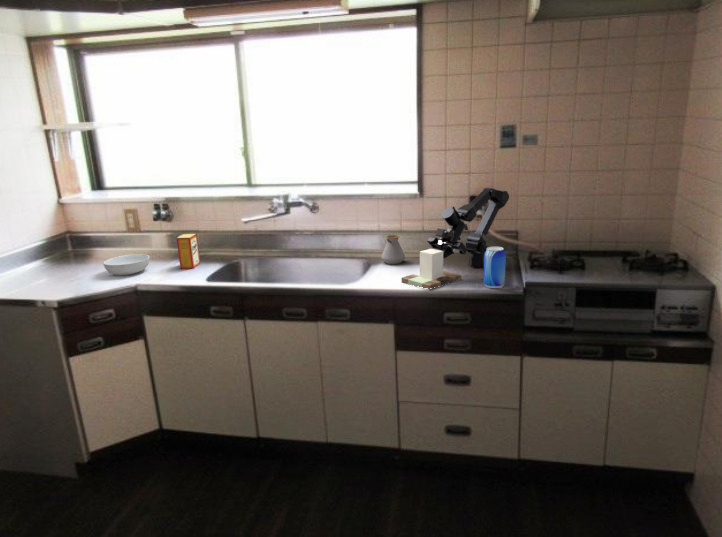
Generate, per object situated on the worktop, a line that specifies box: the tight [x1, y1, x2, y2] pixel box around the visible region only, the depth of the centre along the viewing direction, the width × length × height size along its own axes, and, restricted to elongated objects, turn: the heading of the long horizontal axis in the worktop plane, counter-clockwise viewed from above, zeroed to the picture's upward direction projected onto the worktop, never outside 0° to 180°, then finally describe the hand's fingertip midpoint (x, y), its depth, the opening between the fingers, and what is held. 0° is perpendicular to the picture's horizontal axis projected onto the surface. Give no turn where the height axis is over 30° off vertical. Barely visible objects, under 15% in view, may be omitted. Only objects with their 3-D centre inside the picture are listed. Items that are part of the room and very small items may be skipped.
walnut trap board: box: [400, 270, 462, 289], centre depth 227 cm, size 20×16×2 cm
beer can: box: [483, 246, 507, 289], centre depth 215 cm, size 8×8×16 cm
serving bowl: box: [102, 253, 151, 276], centre depth 259 cm, size 21×21×7 cm
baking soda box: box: [176, 233, 201, 270], centre depth 264 cm, size 10×6×16 cm
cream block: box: [419, 248, 444, 280], centre depth 226 cm, size 7×7×11 cm
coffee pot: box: [381, 234, 406, 265], centre depth 253 cm, size 21×12×15 cm, turn 168°
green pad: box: [407, 275, 437, 288], centre depth 224 cm, size 9×8×2 cm
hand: (437, 261), depth 228 cm, fingers closed
